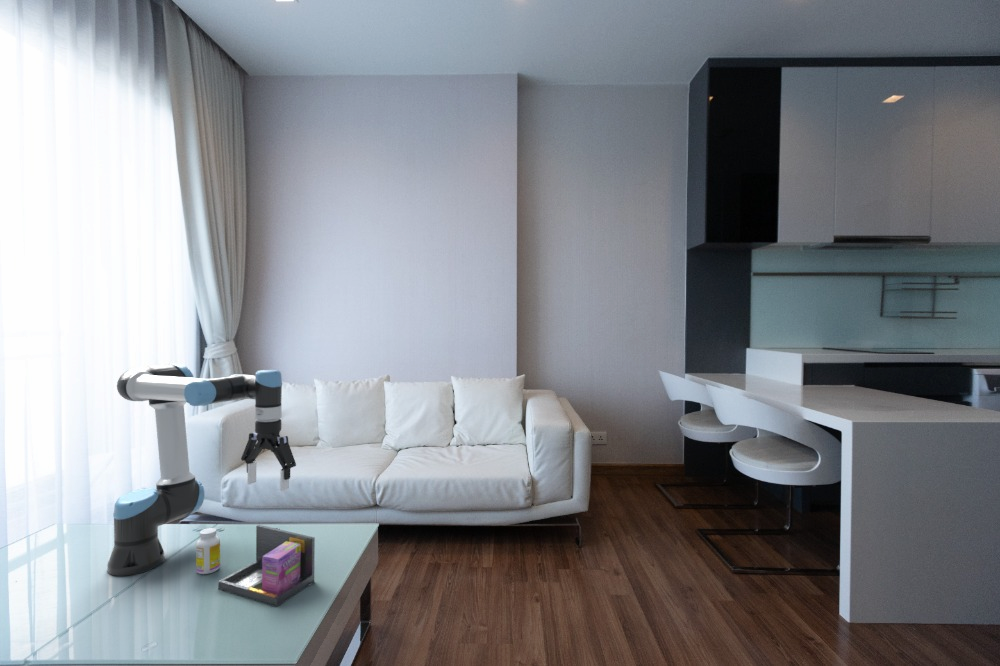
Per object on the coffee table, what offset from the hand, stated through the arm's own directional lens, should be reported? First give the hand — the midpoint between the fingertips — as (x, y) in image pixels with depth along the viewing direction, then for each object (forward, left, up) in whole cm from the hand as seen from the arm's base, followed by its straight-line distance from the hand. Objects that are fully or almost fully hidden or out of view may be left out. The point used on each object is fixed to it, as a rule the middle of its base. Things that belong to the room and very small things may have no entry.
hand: (268, 486), depth 160 cm
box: (+10, -5, -28) cm, 31 cm away
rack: (+5, -5, -29) cm, 29 cm away
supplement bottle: (-20, -5, -29) cm, 35 cm away
